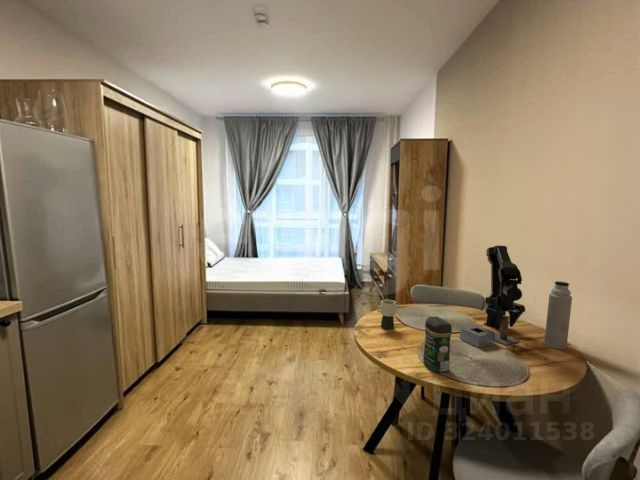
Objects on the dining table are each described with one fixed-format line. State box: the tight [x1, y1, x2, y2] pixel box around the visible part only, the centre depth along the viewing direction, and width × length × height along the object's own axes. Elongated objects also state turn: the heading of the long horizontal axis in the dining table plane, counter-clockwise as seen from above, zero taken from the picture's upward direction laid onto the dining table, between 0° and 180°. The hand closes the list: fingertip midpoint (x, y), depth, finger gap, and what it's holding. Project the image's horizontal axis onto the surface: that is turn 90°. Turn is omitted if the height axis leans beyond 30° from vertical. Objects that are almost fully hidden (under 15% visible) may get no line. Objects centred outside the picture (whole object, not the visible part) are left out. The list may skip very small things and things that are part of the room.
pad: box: [495, 333, 520, 347], centre depth 151 cm, size 9×9×1 cm
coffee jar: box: [422, 315, 453, 373], centre depth 125 cm, size 10×8×19 cm
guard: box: [459, 324, 496, 348], centre depth 149 cm, size 10×10×5 cm
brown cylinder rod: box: [499, 315, 509, 340], centre depth 150 cm, size 3×3×10 cm
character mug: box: [377, 299, 400, 330], centre depth 163 cm, size 11×7×13 cm, turn 103°
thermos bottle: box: [544, 281, 573, 350], centre depth 145 cm, size 8×8×28 cm
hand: (504, 328), depth 150 cm, fingers open, 9 cm apart
